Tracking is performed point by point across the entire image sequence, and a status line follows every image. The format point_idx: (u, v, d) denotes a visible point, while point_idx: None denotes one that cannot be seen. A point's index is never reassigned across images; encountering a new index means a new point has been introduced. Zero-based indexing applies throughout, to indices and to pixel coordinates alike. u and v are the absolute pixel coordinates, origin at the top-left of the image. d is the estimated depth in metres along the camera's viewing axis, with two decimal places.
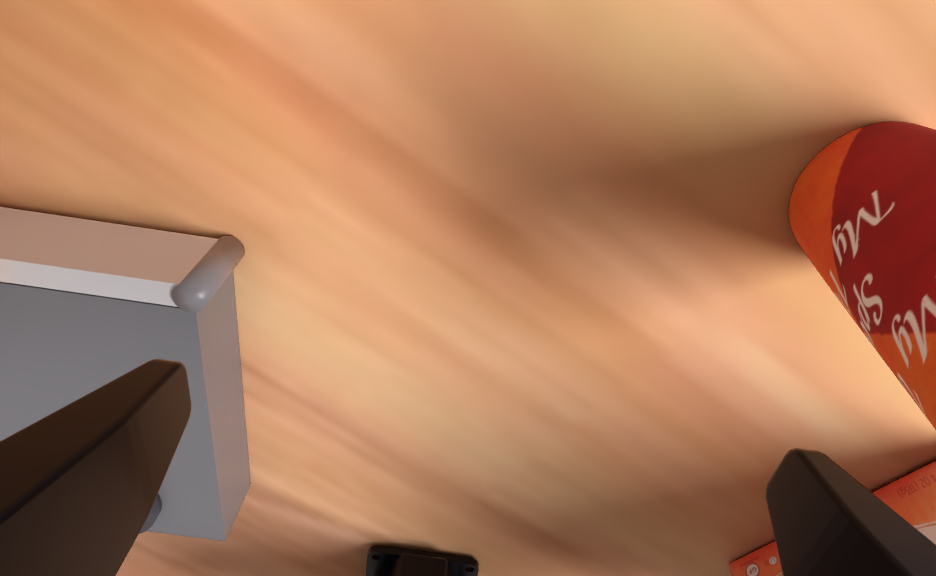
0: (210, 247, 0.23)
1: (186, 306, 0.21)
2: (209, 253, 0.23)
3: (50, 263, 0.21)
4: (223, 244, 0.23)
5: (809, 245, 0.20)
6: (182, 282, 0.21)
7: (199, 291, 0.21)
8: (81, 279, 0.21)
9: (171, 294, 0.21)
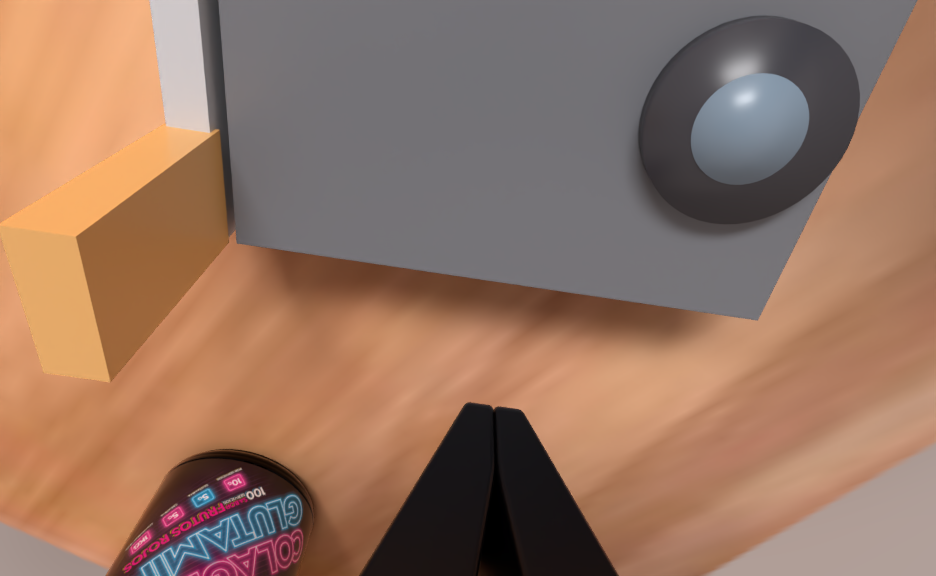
0: None
1: None
2: None
3: (156, 26, 0.12)
4: None
5: None
6: None
7: None
8: None
9: None
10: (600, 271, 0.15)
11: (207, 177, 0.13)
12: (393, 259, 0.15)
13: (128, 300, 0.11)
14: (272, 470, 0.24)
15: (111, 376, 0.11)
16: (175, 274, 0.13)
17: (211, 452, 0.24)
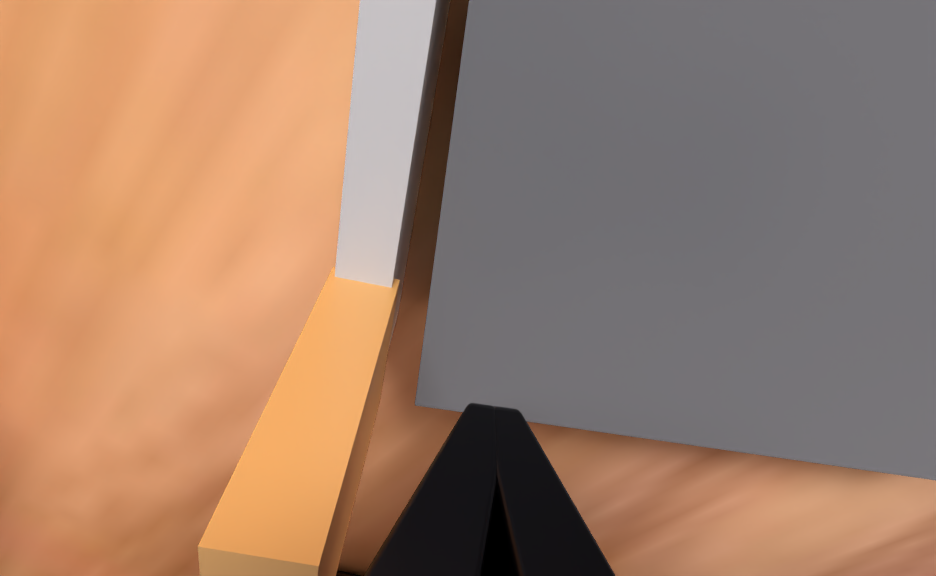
0: None
1: None
2: None
3: (347, 159, 0.09)
4: None
5: None
6: None
7: None
8: (378, 98, 0.09)
9: None
10: (876, 443, 0.12)
11: (385, 346, 0.10)
12: (612, 426, 0.12)
13: None
14: None
15: None
16: (354, 491, 0.09)
17: None
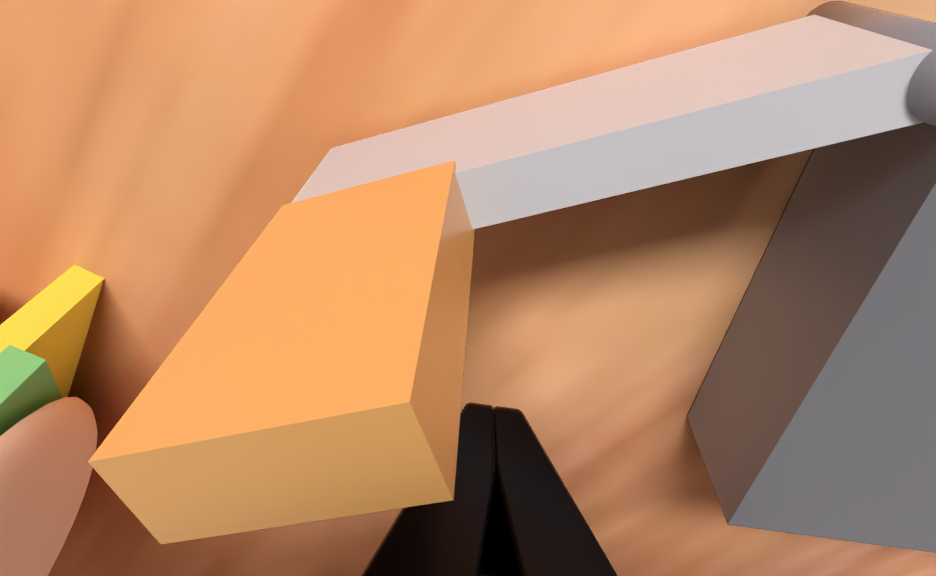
0: (835, 18, 0.10)
1: None
2: (853, 22, 0.10)
3: (590, 134, 0.09)
4: (851, 7, 0.10)
5: None
6: (931, 47, 0.08)
7: None
8: (669, 144, 0.09)
9: (912, 88, 0.08)
10: None
11: None
12: (902, 542, 0.14)
13: None
14: None
15: (164, 527, 0.06)
16: None
17: None
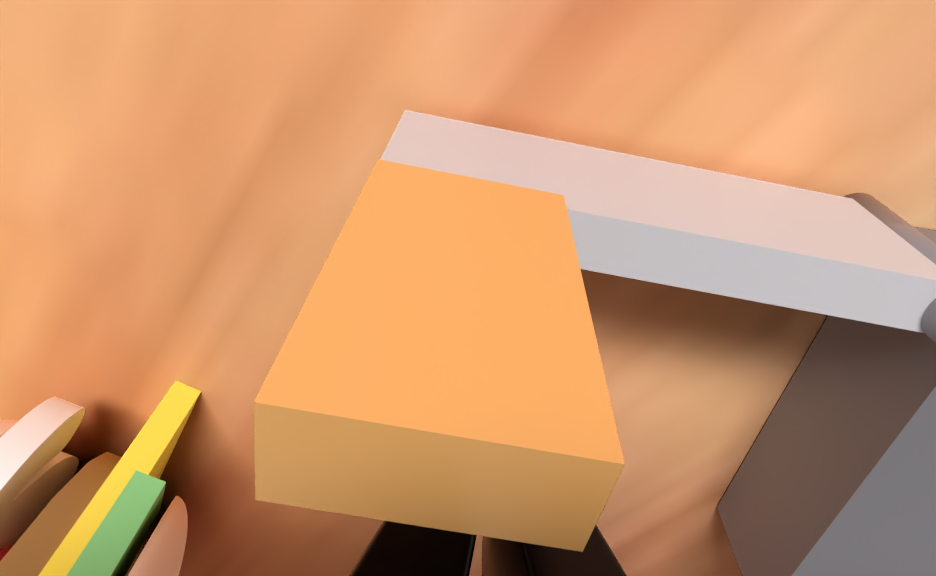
0: (873, 213, 0.12)
1: None
2: (888, 223, 0.12)
3: (690, 229, 0.09)
4: (885, 208, 0.12)
5: None
6: None
7: None
8: (746, 266, 0.10)
9: (934, 306, 0.10)
10: None
11: None
12: None
13: None
14: None
15: (261, 481, 0.05)
16: None
17: None
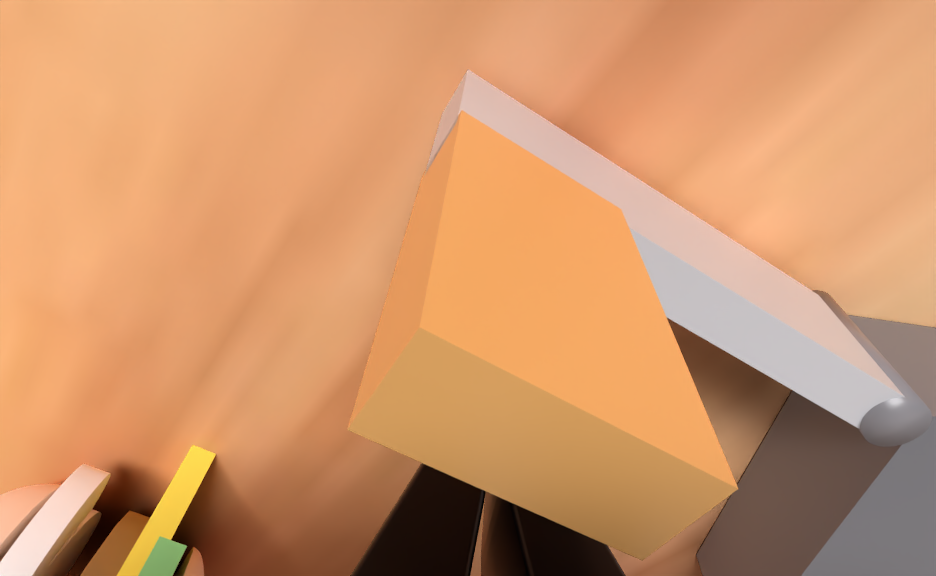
0: (836, 313, 0.13)
1: (876, 432, 0.11)
2: (846, 326, 0.13)
3: (717, 279, 0.10)
4: (843, 312, 0.14)
5: None
6: (903, 393, 0.11)
7: (930, 421, 0.11)
8: (750, 328, 0.10)
9: (879, 408, 0.11)
10: None
11: None
12: None
13: None
14: None
15: (355, 410, 0.05)
16: None
17: None
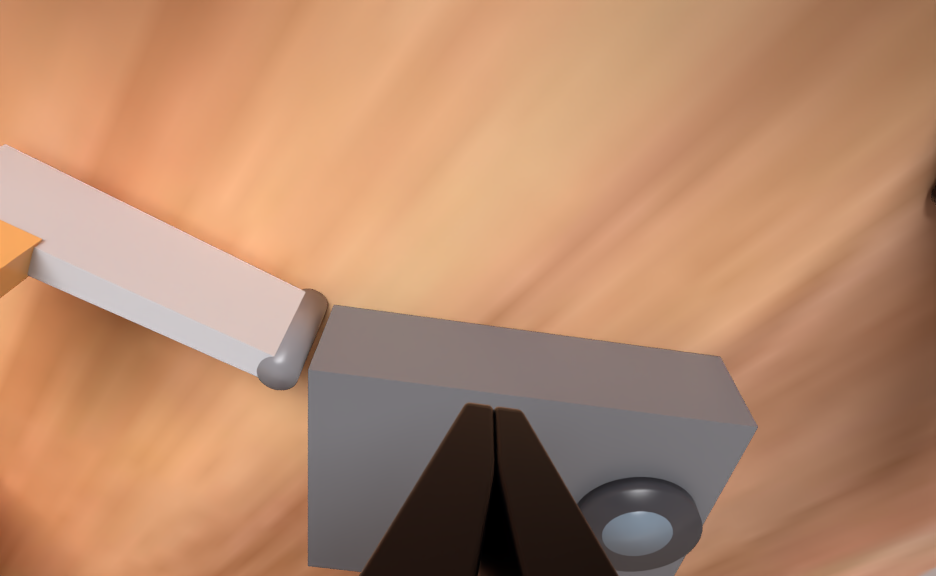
0: (299, 304, 0.19)
1: (269, 380, 0.17)
2: (299, 313, 0.19)
3: (118, 281, 0.16)
4: (313, 303, 0.20)
5: None
6: (277, 354, 0.17)
7: (296, 372, 0.17)
8: (151, 312, 0.16)
9: (259, 364, 0.17)
10: None
11: None
12: None
13: None
14: None
15: None
16: None
17: None
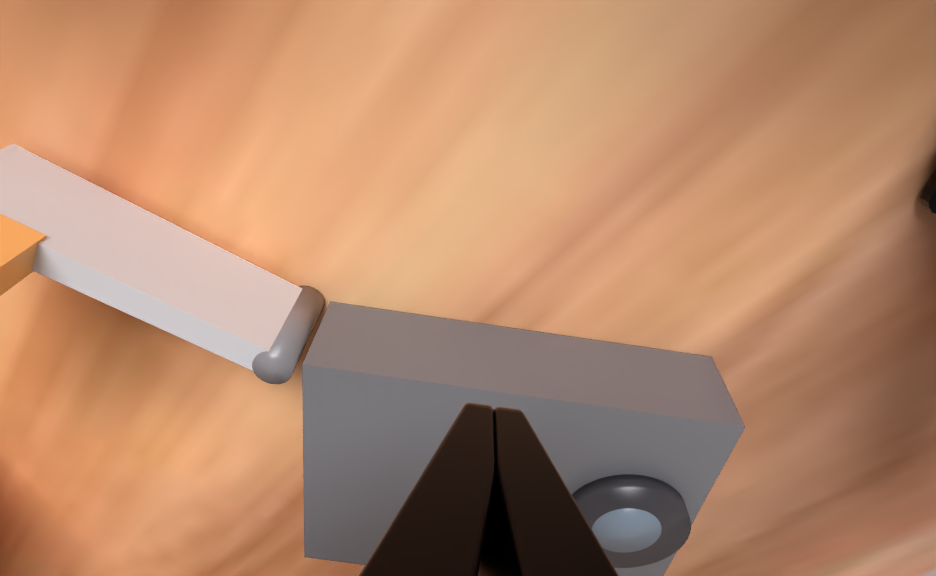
0: (296, 300, 0.20)
1: (264, 374, 0.18)
2: (295, 309, 0.20)
3: (118, 276, 0.17)
4: (309, 300, 0.20)
5: None
6: (272, 349, 0.18)
7: (290, 366, 0.18)
8: (150, 307, 0.17)
9: (254, 358, 0.18)
10: None
11: None
12: None
13: None
14: None
15: None
16: None
17: None
